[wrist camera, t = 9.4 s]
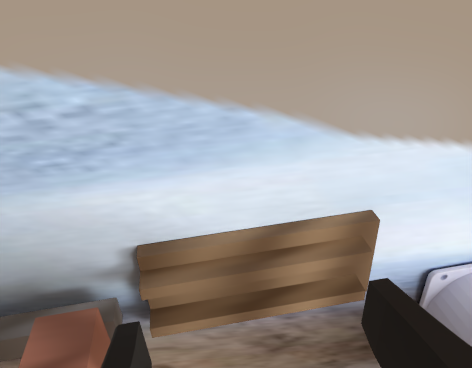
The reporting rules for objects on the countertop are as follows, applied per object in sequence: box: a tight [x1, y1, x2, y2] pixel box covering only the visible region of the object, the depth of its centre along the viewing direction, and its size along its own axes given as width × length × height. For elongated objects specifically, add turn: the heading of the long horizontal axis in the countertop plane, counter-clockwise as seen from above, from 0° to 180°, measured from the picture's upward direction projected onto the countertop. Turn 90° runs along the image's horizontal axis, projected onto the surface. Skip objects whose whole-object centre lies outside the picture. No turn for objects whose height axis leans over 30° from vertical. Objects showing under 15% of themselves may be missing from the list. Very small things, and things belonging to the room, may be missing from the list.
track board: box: [137, 210, 380, 338], centre depth 23 cm, size 14×6×2 cm, turn 93°
